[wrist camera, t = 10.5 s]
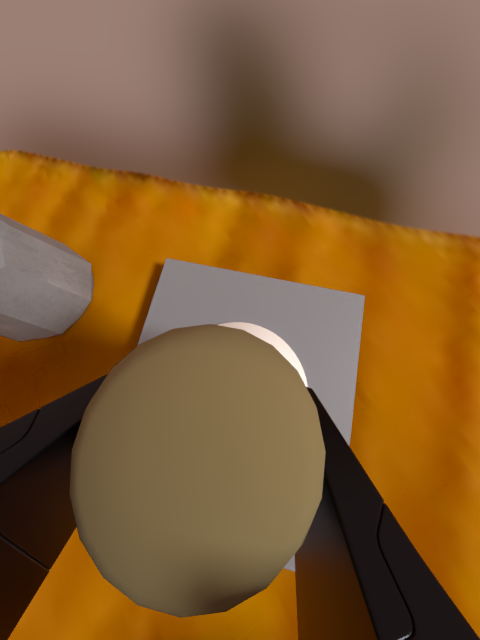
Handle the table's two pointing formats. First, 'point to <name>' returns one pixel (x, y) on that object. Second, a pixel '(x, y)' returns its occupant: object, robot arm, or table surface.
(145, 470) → the cork
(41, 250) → the coffeepot
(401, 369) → the table surface
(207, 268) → the serving board
